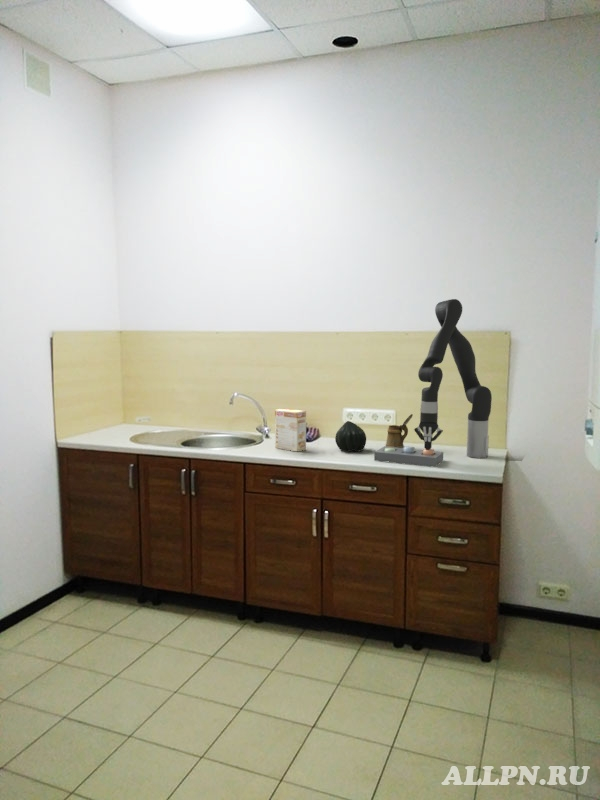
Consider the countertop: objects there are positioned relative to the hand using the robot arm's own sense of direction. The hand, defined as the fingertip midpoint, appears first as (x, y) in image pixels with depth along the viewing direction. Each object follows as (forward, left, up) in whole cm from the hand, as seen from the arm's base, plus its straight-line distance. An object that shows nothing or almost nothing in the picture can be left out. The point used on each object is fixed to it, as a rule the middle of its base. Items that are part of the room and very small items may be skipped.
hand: (427, 449), depth 275 cm
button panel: (+9, 0, -6) cm, 10 cm away
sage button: (+18, 0, -4) cm, 18 cm away
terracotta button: (0, 0, -3) cm, 3 cm away
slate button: (+9, 0, -3) cm, 9 cm away
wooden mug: (+21, -23, -6) cm, 31 cm away
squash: (+41, -9, -6) cm, 42 cm away
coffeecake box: (+69, +1, -6) cm, 69 cm away
